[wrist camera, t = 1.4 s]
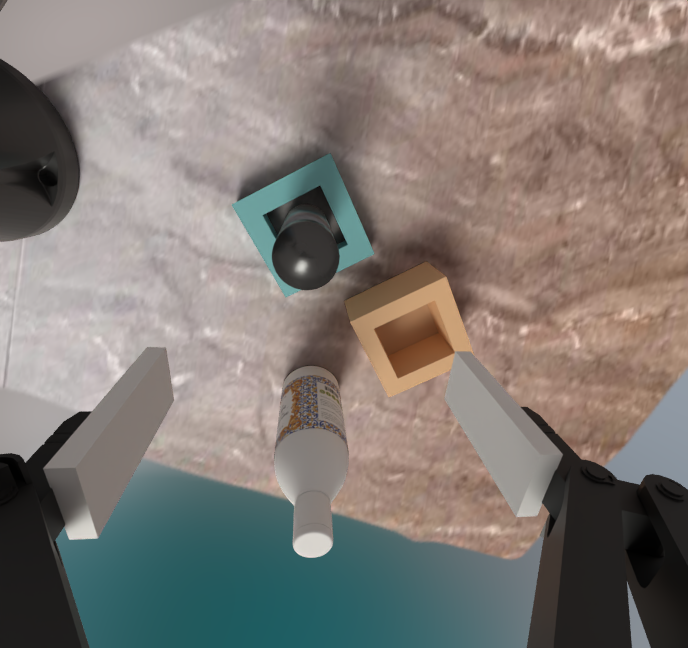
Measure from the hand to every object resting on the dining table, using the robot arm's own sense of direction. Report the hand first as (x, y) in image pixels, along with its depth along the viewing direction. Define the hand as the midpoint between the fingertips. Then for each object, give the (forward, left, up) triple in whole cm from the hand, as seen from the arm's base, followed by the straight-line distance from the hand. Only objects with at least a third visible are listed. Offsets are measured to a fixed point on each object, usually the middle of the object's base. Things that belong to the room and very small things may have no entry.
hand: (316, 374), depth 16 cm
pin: (-3, +1, -23) cm, 23 cm away
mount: (-3, +1, -23) cm, 23 cm away
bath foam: (+14, -7, -23) cm, 28 cm away
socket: (+11, +6, -23) cm, 26 cm away
